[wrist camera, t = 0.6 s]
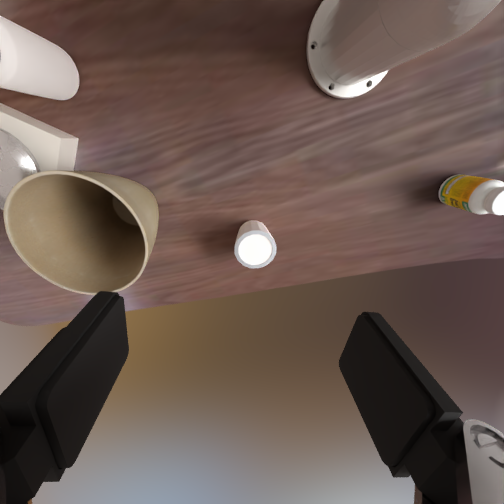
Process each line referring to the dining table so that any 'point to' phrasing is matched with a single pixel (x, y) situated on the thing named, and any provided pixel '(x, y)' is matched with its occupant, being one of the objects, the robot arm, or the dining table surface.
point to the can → (35, 64)
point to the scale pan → (13, 164)
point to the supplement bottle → (473, 194)
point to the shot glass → (254, 245)
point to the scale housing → (41, 140)
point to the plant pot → (82, 228)
